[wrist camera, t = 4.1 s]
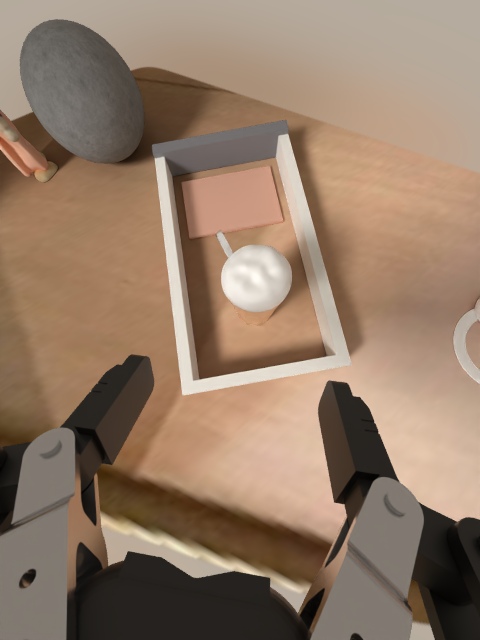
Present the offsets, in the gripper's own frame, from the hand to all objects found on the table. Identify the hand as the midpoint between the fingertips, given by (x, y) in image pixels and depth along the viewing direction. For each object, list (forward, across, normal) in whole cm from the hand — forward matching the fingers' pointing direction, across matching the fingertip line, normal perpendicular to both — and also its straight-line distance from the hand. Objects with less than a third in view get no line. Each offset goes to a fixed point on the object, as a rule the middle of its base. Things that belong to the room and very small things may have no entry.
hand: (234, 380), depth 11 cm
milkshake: (+13, 0, +3) cm, 13 cm away
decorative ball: (+25, +18, -9) cm, 32 cm away
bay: (+16, +2, 0) cm, 16 cm away
